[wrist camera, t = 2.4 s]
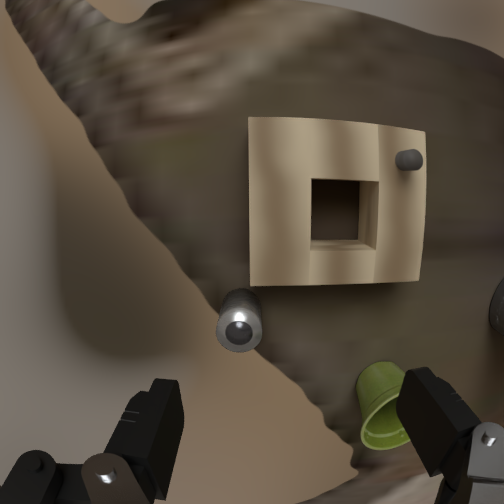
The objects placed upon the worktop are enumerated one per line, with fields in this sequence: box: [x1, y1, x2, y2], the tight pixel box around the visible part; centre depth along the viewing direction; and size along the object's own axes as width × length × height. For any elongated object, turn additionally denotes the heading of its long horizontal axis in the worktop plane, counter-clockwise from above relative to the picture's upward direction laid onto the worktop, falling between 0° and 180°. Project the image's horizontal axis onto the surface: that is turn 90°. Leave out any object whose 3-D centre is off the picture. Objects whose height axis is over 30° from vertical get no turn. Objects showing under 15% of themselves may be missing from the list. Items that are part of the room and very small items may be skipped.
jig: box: [248, 117, 426, 286], centre depth 25 cm, size 16×14×7 cm
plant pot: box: [356, 361, 410, 450], centre depth 30 cm, size 9×9×9 cm
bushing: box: [216, 288, 262, 352], centre depth 28 cm, size 4×4×6 cm
